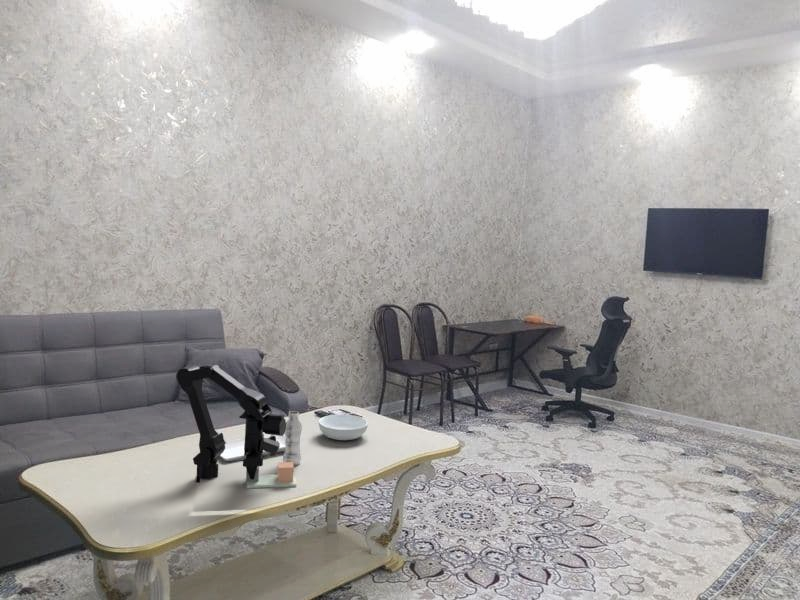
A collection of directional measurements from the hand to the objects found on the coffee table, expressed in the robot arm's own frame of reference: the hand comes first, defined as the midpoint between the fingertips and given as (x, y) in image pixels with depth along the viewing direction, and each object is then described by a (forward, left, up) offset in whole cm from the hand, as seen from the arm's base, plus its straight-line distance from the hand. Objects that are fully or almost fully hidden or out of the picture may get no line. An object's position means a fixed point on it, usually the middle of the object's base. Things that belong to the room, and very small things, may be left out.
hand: (252, 477), depth 203 cm
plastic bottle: (+14, +17, -3) cm, 22 cm away
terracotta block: (+11, 0, -1) cm, 11 cm away
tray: (0, +33, -3) cm, 33 cm away
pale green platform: (+6, 0, -2) cm, 7 cm away
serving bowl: (+37, +49, -3) cm, 61 cm away
